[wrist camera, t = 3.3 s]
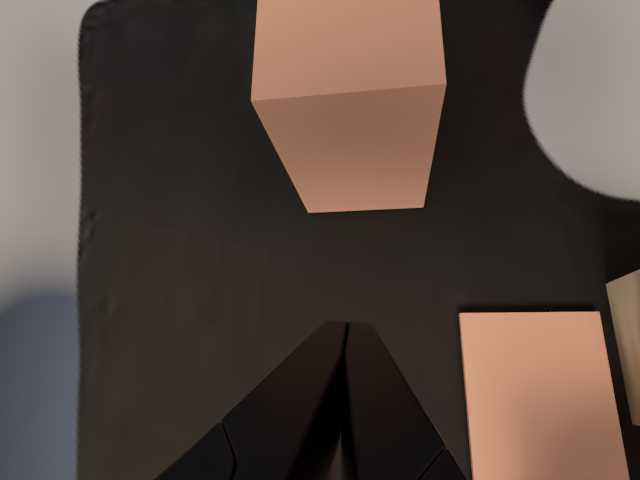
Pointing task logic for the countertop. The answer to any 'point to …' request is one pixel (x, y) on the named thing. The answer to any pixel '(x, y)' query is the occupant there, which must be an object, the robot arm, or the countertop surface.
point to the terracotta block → (351, 98)
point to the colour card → (540, 397)
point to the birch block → (628, 334)
